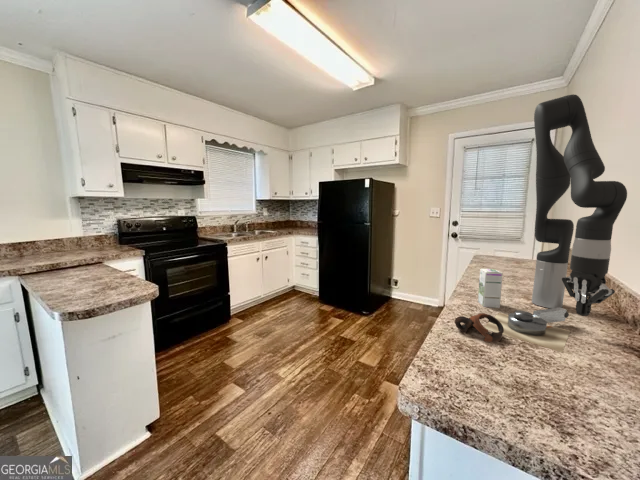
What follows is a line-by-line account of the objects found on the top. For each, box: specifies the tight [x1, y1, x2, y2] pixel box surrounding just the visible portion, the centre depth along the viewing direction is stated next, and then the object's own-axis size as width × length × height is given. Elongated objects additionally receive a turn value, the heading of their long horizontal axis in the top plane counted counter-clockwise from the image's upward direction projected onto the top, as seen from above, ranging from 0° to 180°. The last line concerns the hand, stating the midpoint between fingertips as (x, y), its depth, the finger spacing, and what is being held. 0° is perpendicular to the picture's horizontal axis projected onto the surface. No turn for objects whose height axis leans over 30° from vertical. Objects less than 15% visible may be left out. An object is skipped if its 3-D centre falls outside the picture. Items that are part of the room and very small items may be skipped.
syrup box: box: [477, 268, 504, 309], centre depth 100 cm, size 6×6×14 cm
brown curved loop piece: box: [454, 312, 504, 343], centre depth 77 cm, size 12×10×8 cm
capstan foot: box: [507, 307, 570, 336], centre depth 81 cm, size 21×9×5 cm, turn 106°
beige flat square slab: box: [483, 312, 571, 353], centre depth 80 cm, size 18×18×2 cm
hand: (582, 314), depth 77 cm, fingers closed
